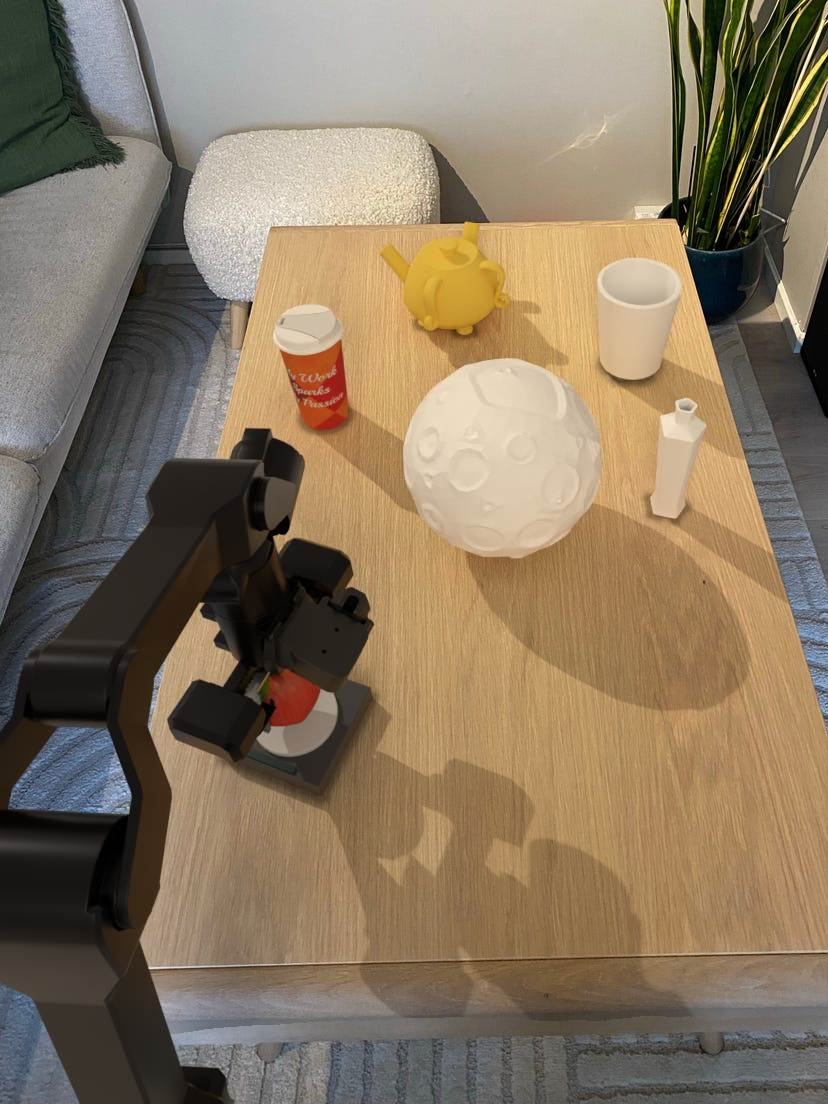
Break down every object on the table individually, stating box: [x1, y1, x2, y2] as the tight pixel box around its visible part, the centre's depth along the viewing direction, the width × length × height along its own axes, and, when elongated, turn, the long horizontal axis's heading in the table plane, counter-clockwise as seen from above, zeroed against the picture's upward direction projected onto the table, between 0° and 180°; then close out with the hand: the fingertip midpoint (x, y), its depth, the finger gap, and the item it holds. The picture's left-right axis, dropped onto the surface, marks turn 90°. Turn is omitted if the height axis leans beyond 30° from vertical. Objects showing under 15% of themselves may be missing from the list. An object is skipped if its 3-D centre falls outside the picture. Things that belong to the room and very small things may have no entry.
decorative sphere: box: [402, 357, 603, 560], centre depth 92 cm, size 20×20×20 cm
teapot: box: [378, 221, 511, 335], centre depth 119 cm, size 14×14×11 cm
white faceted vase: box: [649, 397, 708, 519], centre depth 94 cm, size 5×4×15 cm
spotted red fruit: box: [248, 669, 321, 727], centre depth 77 cm, size 8×7×10 cm
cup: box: [596, 257, 684, 383], centre depth 110 cm, size 10×10×13 cm
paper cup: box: [272, 303, 349, 431], centre depth 106 cm, size 8×8×14 cm
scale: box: [236, 678, 374, 797], centre depth 82 cm, size 10×10×3 cm
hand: (286, 693), depth 78 cm, fingers closed on spotted red fruit, 7 cm apart
